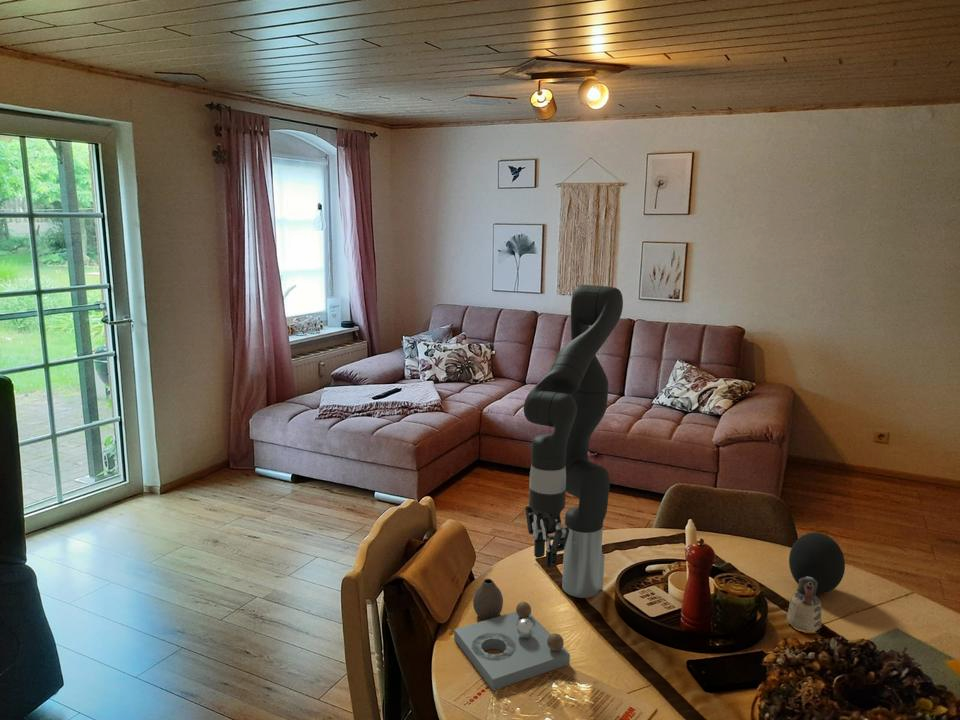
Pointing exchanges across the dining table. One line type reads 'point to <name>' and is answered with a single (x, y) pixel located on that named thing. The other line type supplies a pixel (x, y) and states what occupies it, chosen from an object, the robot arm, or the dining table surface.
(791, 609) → the figurine
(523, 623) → the steel ball
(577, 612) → the dining table surface
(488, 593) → the vase
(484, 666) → the hole plate
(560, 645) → the walnut ball
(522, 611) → the walnut ball
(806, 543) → the decorative egg
